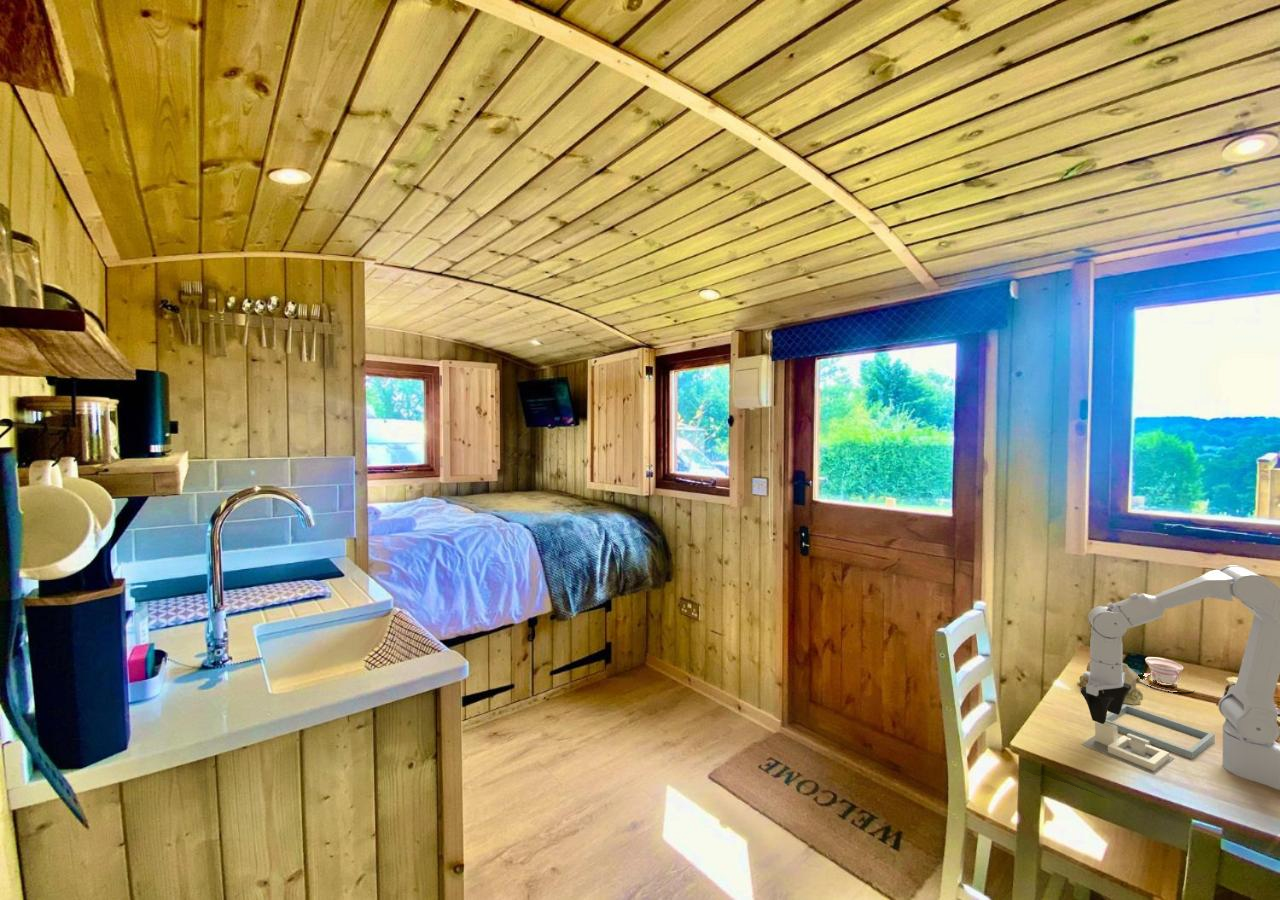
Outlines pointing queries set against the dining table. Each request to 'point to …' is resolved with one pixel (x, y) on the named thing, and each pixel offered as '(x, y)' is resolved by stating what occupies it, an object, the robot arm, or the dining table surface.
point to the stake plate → (1135, 748)
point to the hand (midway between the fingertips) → (1105, 717)
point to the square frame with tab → (1116, 746)
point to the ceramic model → (1130, 678)
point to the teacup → (1163, 671)
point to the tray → (1183, 728)
